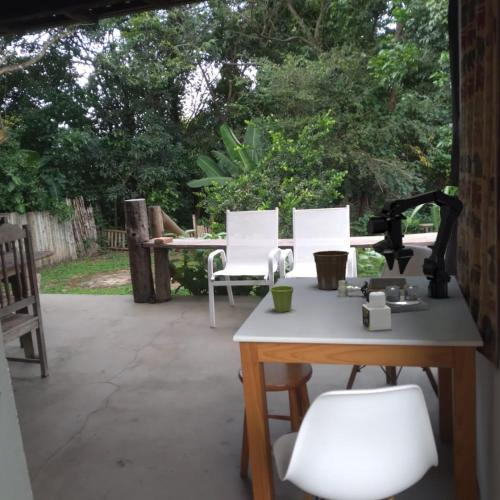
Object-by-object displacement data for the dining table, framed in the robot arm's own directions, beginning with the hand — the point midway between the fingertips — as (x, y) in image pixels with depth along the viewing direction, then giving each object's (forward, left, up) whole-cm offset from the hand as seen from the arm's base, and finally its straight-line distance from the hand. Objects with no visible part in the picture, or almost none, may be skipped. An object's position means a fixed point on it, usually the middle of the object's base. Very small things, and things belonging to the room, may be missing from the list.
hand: (396, 272), depth 188 cm
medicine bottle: (+20, +30, -12) cm, 38 cm away
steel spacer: (+5, +8, -9) cm, 13 cm away
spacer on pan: (-2, +8, -9) cm, 12 cm away
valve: (+13, -15, -12) cm, 23 cm away
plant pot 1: (+45, -2, -12) cm, 46 cm away
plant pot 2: (+16, -35, -12) cm, 40 cm away
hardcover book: (-7, -27, -12) cm, 31 cm away
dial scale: (+3, +8, -12) cm, 14 cm away
